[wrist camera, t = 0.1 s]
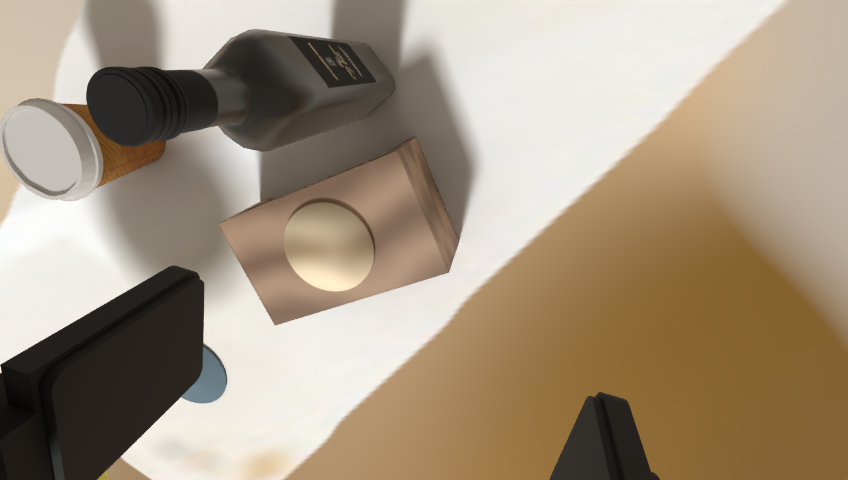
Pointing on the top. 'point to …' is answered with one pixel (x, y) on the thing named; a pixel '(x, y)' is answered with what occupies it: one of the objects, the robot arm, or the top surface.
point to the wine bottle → (244, 92)
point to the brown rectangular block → (345, 236)
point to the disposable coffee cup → (65, 150)
